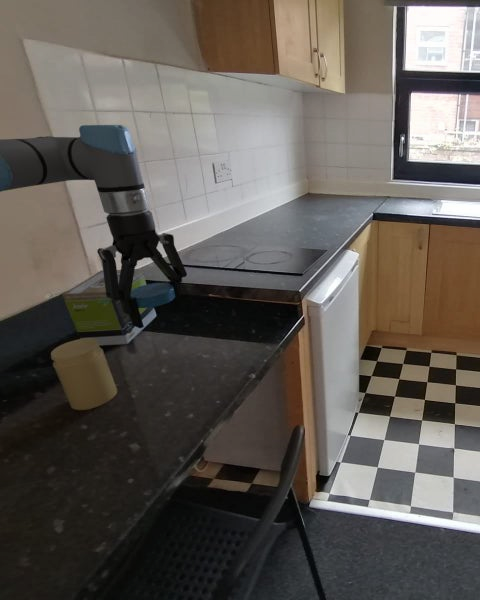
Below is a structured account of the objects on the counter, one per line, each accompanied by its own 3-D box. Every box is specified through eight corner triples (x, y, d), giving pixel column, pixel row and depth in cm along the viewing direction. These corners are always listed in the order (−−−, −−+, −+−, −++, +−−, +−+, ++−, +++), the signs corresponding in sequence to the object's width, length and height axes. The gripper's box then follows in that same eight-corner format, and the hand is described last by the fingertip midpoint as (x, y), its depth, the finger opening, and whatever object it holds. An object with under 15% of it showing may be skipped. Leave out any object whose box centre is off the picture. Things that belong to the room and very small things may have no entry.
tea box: (119, 322, 105) (101, 268, 99) (159, 320, 106) (144, 267, 100) (83, 352, 91) (59, 292, 85) (129, 350, 92) (109, 290, 86)
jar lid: (179, 290, 89) (177, 281, 88) (170, 305, 82) (167, 295, 81) (138, 294, 87) (136, 284, 86) (125, 310, 80) (122, 299, 79)
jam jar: (62, 413, 72) (39, 361, 68) (80, 389, 79) (60, 340, 74) (109, 406, 74) (89, 355, 70) (123, 383, 81) (106, 335, 76)
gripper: (76, 225, 67) (117, 343, 77) (190, 204, 84) (212, 303, 93) (55, 221, 71) (96, 334, 80) (168, 201, 87) (191, 297, 96)
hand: (158, 317), depth 86 cm, fingers closed on jar lid, 8 cm apart
